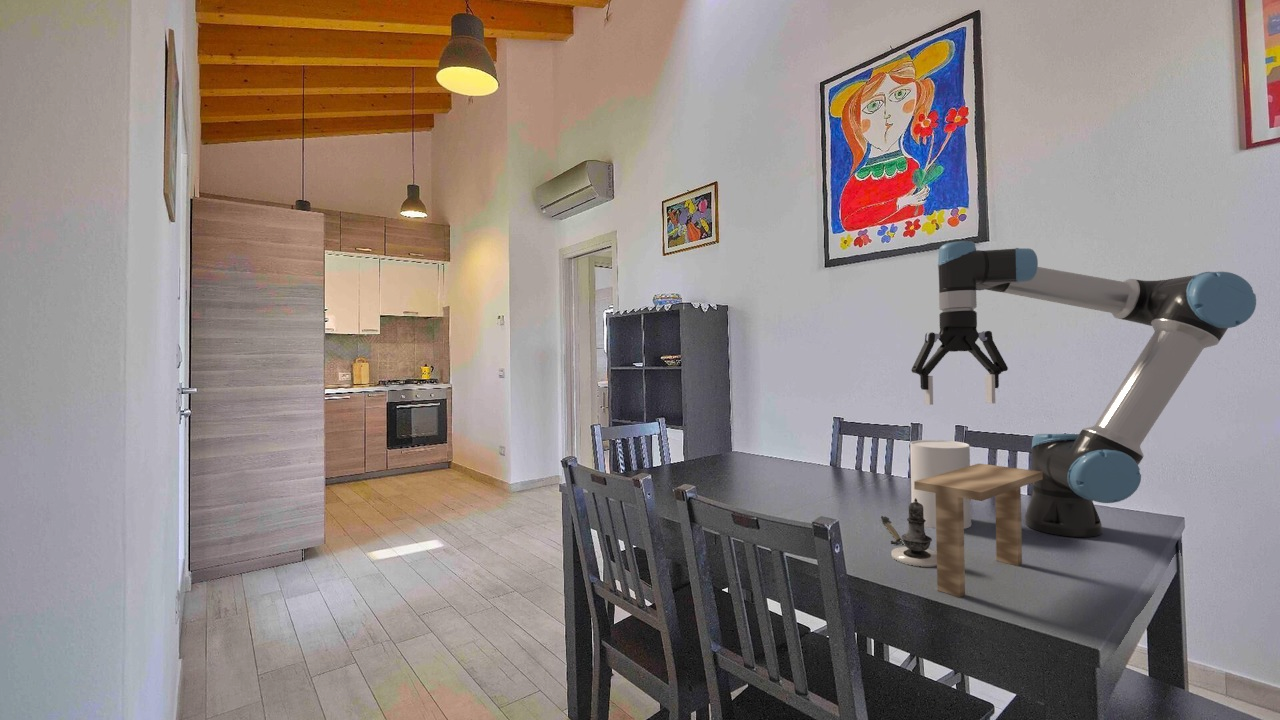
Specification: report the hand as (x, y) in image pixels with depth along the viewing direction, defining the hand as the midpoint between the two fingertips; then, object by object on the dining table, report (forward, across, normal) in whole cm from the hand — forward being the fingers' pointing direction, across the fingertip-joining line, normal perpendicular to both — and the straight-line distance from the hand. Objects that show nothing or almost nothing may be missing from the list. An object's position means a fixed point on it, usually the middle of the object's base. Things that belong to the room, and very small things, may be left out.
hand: (959, 403), depth 134 cm
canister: (+32, -2, -16) cm, 36 cm away
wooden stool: (+32, +6, +21) cm, 38 cm away
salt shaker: (+31, +14, +11) cm, 36 cm away
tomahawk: (+32, +12, -8) cm, 35 cm away
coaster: (+32, +14, +11) cm, 37 cm away
